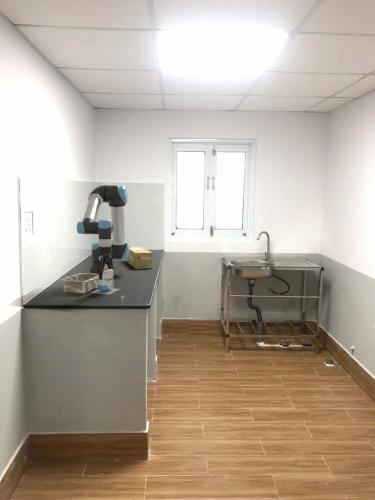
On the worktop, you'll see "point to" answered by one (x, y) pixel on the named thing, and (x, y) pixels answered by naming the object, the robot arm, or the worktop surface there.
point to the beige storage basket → (80, 283)
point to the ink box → (106, 279)
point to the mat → (105, 291)
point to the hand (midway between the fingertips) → (105, 283)
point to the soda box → (139, 258)
